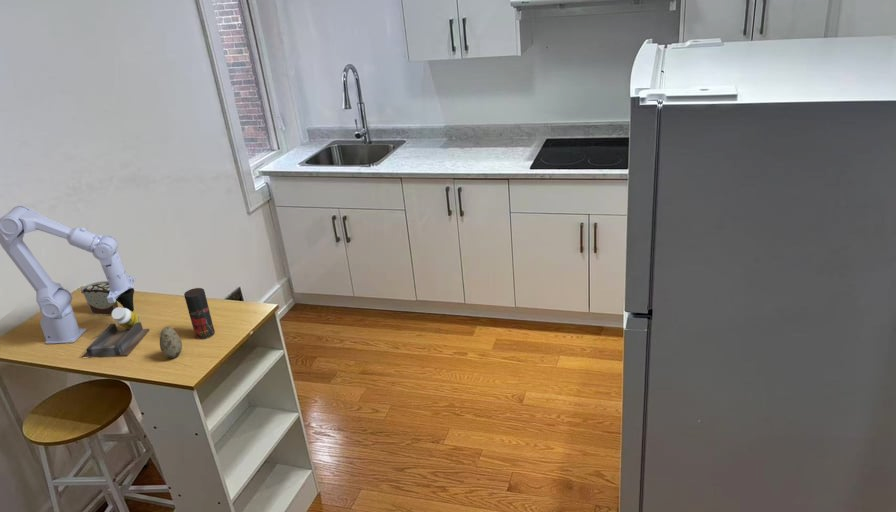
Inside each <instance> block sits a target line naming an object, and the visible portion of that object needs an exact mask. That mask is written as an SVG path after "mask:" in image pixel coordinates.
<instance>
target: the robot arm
mask: <svg viewBox="0 0 896 512" xmlns="http://www.w3.org/2000/svg"><path fill="white" fill-rule="evenodd" d="M35 231H39V232H43V233H46V234H50V235H52V236H56V237H60V238H61V239H62V238H63V239H65V240H67V243H68V244H69V245H70V246H73V247H76V248H78V249H81V250H84V251H86V252H88V253H91V254H92V256H93V257H94V258H95V259H97V260H98V261H99V262H100V265H101V268H102V271H103V273H104V275H105V278H106V281H108V283H109V286H110V288H111V289H110V292H109V295H108V297H107V301H108V303H115V302H116V300H117V303H118V304H120V305H121V306H122V308H127V309H129V310H130V311H132V312H133V313H134V311H135V307H134V294H135V288H134V287H135V284H134V283H136V281H137V279H136V278H135V275H129V276H128V274H127V272H126V269H125V266H124V264H123V261H122V259H121V258H122V257H120V254H119V251H118V248H119V243H118V240H117V239H116V238H114V237H113V236H111V235H109V234H108V235H107V234H105V235H102V234H97V233H94V232H92V231H88V230H87V228H86V227H79V226H78V227H75V228H71V227H68V226H66V225H64V224H62V223H60V222H58V221H56V220H53V219H51V218H49V217H46V216H45V215H42V214H41V213H39V212H38V211H37V210H36V209H32V208H29V207H27V206H24V205H17V206H14V207H13V208H12V209H11V210H10V211H8V212H7V213H6V214H5V215H3V216H1V217H0V246H1V247H2V249H3V250H4V252H6V254H7V256H9V258H10V259H11V261H12V262H13V263H14V265H15V266H16V267H17V269H18V271H20V273H21V274H22V275H23V276H24V278H25V279H26V280H27V282H28V283H29V284H30V286H31V288H32V289H33V290H34V291H35V292H36V293H35V294H36V297H35V298H36V303H37V304H38V306H39V311H40V313H41V315H42V316H41V317H40V320H39V321H40V322H39V324H40V327H41V330H42V332H43V335H44V338H45V342H44V344H46V345H47V344H49V345H50V344H69V343H71V344H72V343H75V342H76V341H77V340H78V339H79V338H80V337H81V336H82V335H83V334H84V333H85V332H86V331H87V328H80V327H79V324H78V322H77V318H76V316H75V313H74V310H73V307H72V305H71V303H72V301H73V295H72V293H71V291H69V290H68V289H66V288H64V286H62V285H61V283H59V282H55V281H53V280H52V278H51V277H50V275H49V274H48V272H47V271H46V270H45V268H44V267H43V266H42V264H41V263H40V262H39V260H38V259H37V258H36V256H35V255H34V254H33V253H32V251H31V249H30V248H29V247H28V246H27V244H26V243H25V242H24V240H23V239H24V237H25V234H27V233H32V232H35Z"/></svg>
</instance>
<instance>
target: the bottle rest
mask: <svg viewBox="0 0 896 512" xmlns="http://www.w3.org/2000/svg"><path fill="white" fill-rule="evenodd" d="M149 332H150V328H143V325H142V322H141V321H140V322H138V323H136V324H135V325H134V326H133V327H132V328H131V329H130V330H127V329H118V327H117V323H110V324H109V325H108V326H107V327H106V328H105V329H104V330H103V331H102V332H101V333H100V334H99V335H98V336H97V337H96V339H94V340H93V341H92V343H90V344H89V346H88V347H87V348H86V352H85V353H84V354H83V355H82V358H83V357H98V358H115V357H118V358H120V357H121V358H122V357H128V356H129V355H130V354H131V353H132V351H134V349H135V348H136V347H137V346H138V345H139V343H140V342H141V341H142V340H143V338H145V336H146V335H147V334H148V333H149Z"/></svg>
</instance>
